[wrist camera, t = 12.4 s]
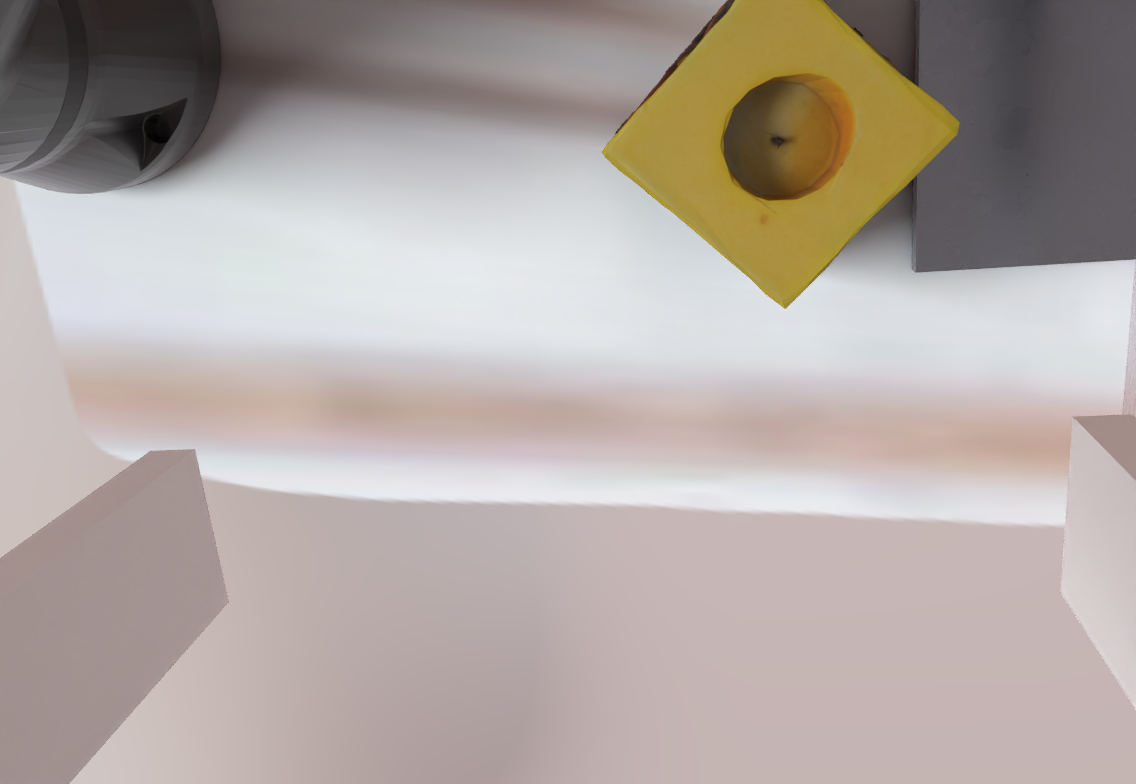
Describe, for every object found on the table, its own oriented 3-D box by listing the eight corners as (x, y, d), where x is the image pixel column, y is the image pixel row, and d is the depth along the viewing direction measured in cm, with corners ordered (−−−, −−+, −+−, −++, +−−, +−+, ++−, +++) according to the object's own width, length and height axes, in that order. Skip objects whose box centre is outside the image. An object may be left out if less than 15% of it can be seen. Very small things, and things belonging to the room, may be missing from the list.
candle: (613, 134, 49) (589, 154, 40) (756, -39, 46) (767, -62, 36) (767, 270, 50) (779, 320, 41) (917, 110, 47) (968, 125, 38)
